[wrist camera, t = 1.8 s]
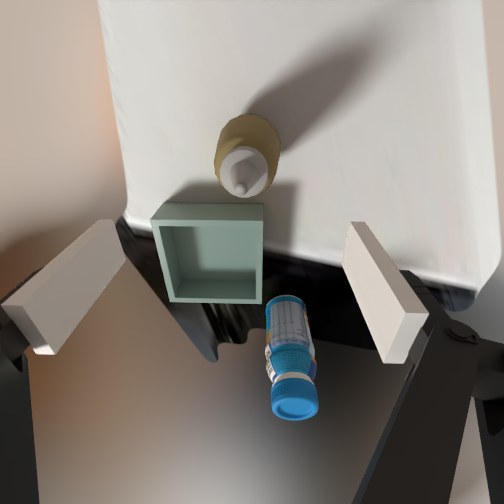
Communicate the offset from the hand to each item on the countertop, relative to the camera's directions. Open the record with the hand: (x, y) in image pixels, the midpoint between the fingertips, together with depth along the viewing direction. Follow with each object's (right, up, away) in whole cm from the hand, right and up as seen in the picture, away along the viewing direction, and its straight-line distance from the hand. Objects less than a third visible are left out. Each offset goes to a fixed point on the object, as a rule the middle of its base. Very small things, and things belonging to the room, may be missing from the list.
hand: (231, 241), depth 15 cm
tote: (-5, +1, +31) cm, 32 cm away
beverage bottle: (+8, -12, +39) cm, 42 cm away
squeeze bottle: (+1, +15, +22) cm, 27 cm away
